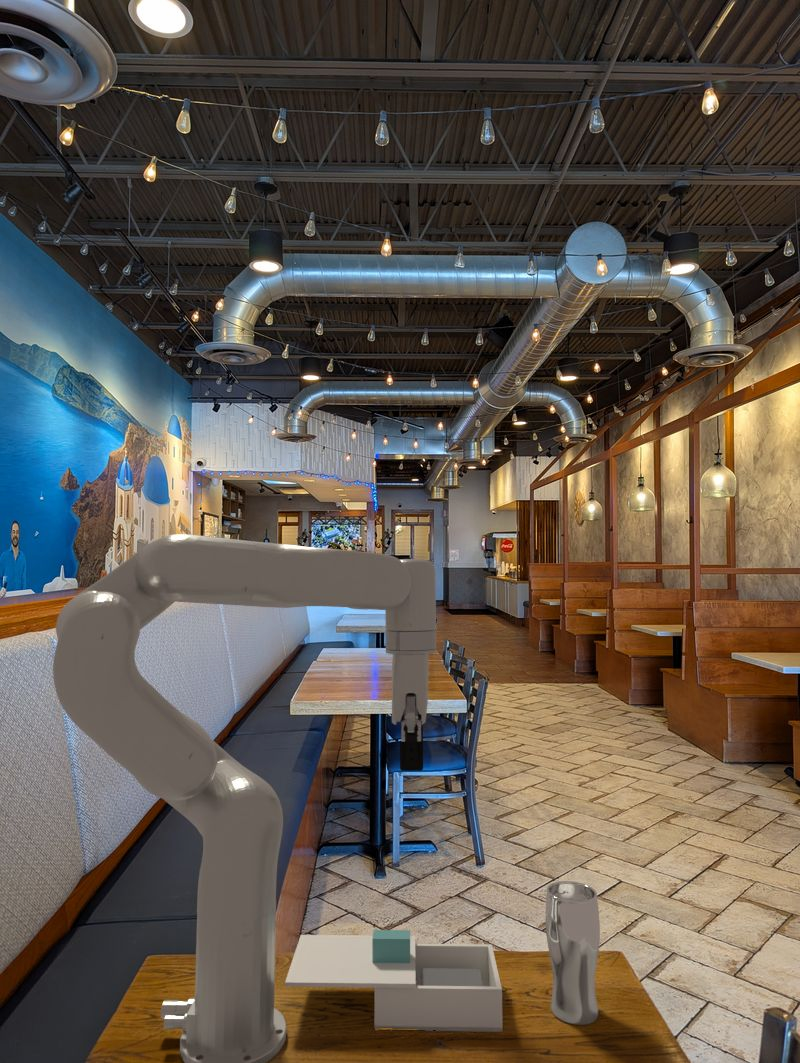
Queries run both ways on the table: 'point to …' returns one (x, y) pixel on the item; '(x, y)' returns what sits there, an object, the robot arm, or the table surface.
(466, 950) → the mailer box
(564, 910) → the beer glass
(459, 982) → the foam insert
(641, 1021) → the table surface
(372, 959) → the box lid
